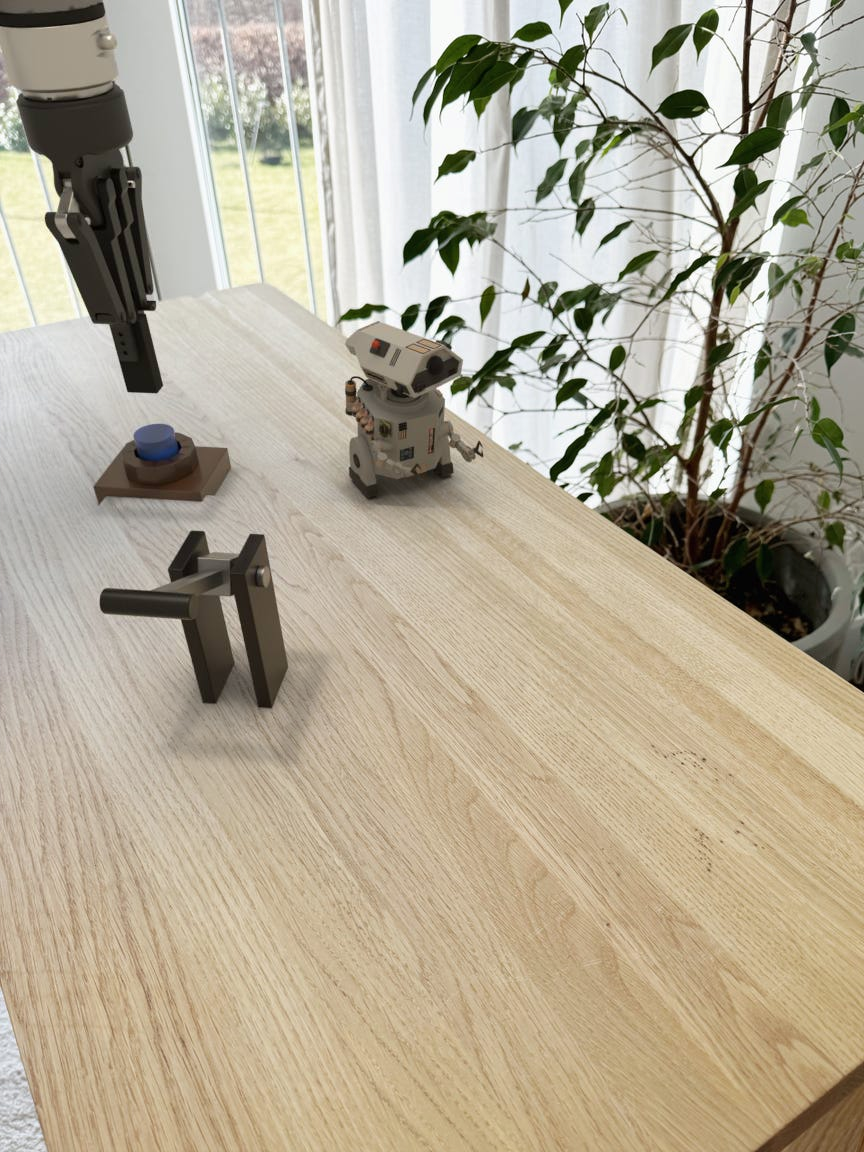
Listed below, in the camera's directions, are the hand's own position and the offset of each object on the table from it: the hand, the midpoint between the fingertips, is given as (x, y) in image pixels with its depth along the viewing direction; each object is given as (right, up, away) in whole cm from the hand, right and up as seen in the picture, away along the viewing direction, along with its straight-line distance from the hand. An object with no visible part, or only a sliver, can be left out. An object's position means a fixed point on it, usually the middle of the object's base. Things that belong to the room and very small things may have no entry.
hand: (145, 388), depth 88 cm
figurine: (+23, -8, +6) cm, 25 cm away
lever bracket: (+13, -26, -16) cm, 33 cm away
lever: (+12, -20, -27) cm, 36 cm away
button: (0, -5, +4) cm, 6 cm away
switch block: (0, -8, +6) cm, 10 cm away
